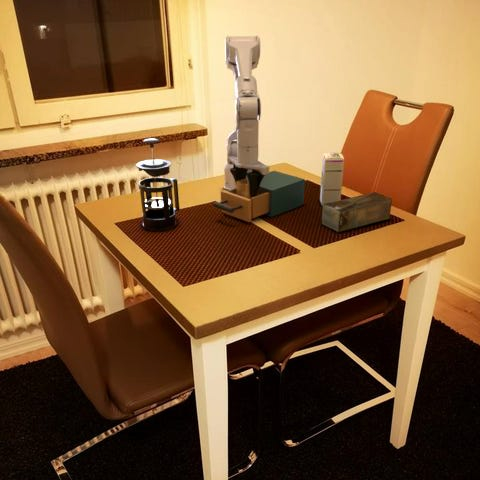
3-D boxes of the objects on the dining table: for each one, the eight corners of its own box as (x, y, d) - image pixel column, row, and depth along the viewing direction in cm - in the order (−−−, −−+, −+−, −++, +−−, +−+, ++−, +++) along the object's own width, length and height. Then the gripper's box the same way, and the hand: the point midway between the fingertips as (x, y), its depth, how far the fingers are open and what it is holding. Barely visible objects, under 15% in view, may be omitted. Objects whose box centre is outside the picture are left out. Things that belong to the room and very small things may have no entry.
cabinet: (271, 217, 142) (272, 190, 138) (241, 206, 150) (241, 180, 145) (303, 204, 150) (304, 179, 146) (273, 195, 158) (274, 170, 154)
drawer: (236, 226, 134) (235, 204, 131) (208, 216, 141) (208, 194, 137) (280, 209, 145) (281, 189, 141) (253, 200, 151) (253, 180, 148)
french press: (151, 234, 132) (142, 146, 119) (134, 224, 138) (123, 139, 125) (188, 223, 138) (182, 138, 125) (169, 214, 144) (162, 132, 131)
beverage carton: (319, 223, 138) (321, 200, 134) (371, 211, 146) (375, 189, 142) (337, 233, 132) (340, 209, 128) (390, 220, 140) (394, 197, 136)
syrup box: (340, 206, 149) (345, 157, 141) (320, 206, 149) (325, 157, 141) (337, 199, 154) (342, 152, 146) (318, 199, 154) (322, 152, 146)
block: (236, 199, 141) (236, 181, 138) (247, 195, 144) (247, 177, 141) (247, 203, 138) (247, 184, 136) (258, 199, 141) (258, 181, 138)
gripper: (218, 143, 135) (219, 191, 142) (256, 152, 126) (256, 204, 134) (237, 138, 139) (237, 186, 146) (275, 148, 130) (273, 197, 138)
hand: (247, 194), depth 140 cm, fingers closed on block, 4 cm apart
